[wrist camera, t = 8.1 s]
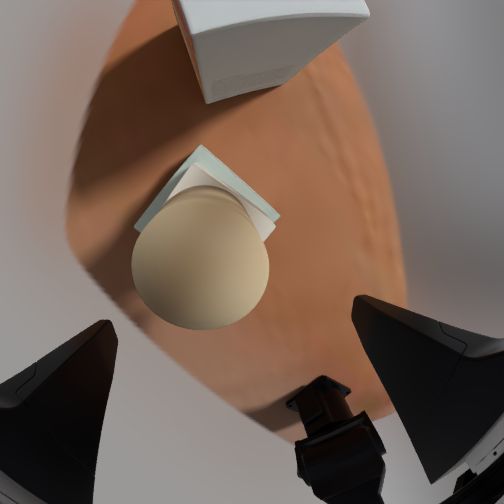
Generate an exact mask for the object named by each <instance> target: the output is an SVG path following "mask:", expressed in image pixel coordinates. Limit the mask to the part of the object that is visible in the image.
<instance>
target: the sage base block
mask: <svg viewBox="0 0 504 504" xmlns="http://www.w3.org/2000/svg"><path fill="white" fill-rule="evenodd" d="M196 162H197V163H199V164H200V165H201V166H203V167H204V168H206V169H207V170H208V171H210V172H211V173H213V174H214V175H215V176H217V177H218V178H219V179H221V180H222V181H224V182H225V183H226V184H228V185H229V186H230V187H232V188H233V189H234V190H236V191H237V192H239V193H240V194H241V195H243V196H244V197H245V198H247V199H248V200H249V201H251V202H252V203H253V204H255V205H256V206H257V207H259V208H260V209H261V210H263V211H264V212H265V213H266V214H267V216H268V217H269V218H270V219H271V221H272V222H273V223H274V222H275V221H276V220H277V219H278V218H279V217H280V215H279V214H278V213H277V212H276V211H275V210H274V209H273V208H272V207H271V206H270V205H269V204H268V203H267V202H266V201H265V200H264V199H263V198H261V197H260V196H259V195H258V194H257V193H256V192H255V191H254V190H253V189H252V188H250V187H249V186H248V185H247V184H246V183H245V182H244V181H243V180H242V179H240V178H239V177H238V176H237V175H236V174H235V173H234V172H233V171H231V170H230V169H229V168H228V167H227V166H226V165H225V164H224V163H222V162H221V161H220V160H219V159H218V158H217V157H215V156H214V155H213V154H212V153H211V152H210V151H209V150H207V149H206V148H205V147H204V146H203V145H201V144H200V146H199V147H198V148H197V149H196V150H195V151H194V152H193V153H192V154H191V156H190V157H189V158H188V159H187V160H186V161H185V163H184V164H183V165H182V166H181V167H180V168H179V170H178V171H177V172H176V173H175V174H174V175H173V177H172V178H171V179H170V180H169V182H168V183H167V184H166V185H165V186H164V188H163V189H162V190H161V191H160V193H159V194H158V195H157V197H156V198H155V199H154V200H153V202H152V203H151V204H150V206H149V207H148V208H147V210H146V211H145V212H144V214H143V215H142V216H141V218H140V219H139V220H138V222H137V223H136V224H135V226H134V228H135V229H136V230H138V231H139V232H140V233H141V232H142V231H143V229H144V228H145V227H146V226H147V224H148V223H149V222H150V221H151V220H152V219H153V218H154V216H155V215H156V214H157V213H158V212H159V211H160V209H161V208H162V206H163V205H164V203H165V202H166V200H167V199H168V197H169V196H170V194H171V193H172V191H173V190H174V188H175V187H176V186H177V184H178V183H179V181H180V180H181V178H182V177H183V176H184V174H185V173H186V172H187V170H188V169H189V167H190V166H191V165H192V164H194V163H196Z"/></svg>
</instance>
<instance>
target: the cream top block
mask: <svg viewBox="0 0 504 504" xmlns="http://www.w3.org/2000/svg"><path fill="white" fill-rule="evenodd" d="M198 185H210V186H215V187H219V188H222V189H224V190H226V191H228V192H230V193H231V194H233V195H234V196H235V197H236V198H237V199H238V200H239V201H240V202H241V203H242V204H243V206H244V208H245V209H246V211H247V213H248V215H249V216H250V218H251V220H252V222H253V224H254V226H255V228H256V230H257V231H258V233H259V235H260V237H261V239H262V241H263V242H264V241H265V240H266V238H267V237H268V236H269V235H270V233H271V232H272V231H273V230H274V229H275V227H276V226H275V224H274V223H273V222H272V221H271V219H270V218H269V217H268V216H267V214H266V213H265V212H264V211H263V210H261V209H260V208H259V207H257V206H256V205H255V204H253V203H252V202H251V201H249V200H248V199H247V198H245V197H244V196H243V195H241V194H240V193H239V192H237V191H236V190H234V189H233V188H232V187H230V186H229V185H228V184H226V183H225V182H224V181H222V180H221V179H219V178H218V177H217V176H215V175H214V174H213V173H211V172H210V171H208V170H207V169H206V168H204V167H203V166H201V165H200V164H199V163H197V162H196V163H194V164H192V165H191V166H190V167H189V169H188V170H187V172H186V173H185V174H184V176H183V177H182V178H181V180H180V181H179V183H178V184H177V186H176V187H175V188H174V190H173V191H172V193H171V194H170V196H169V197H168V199H167V200H166V202H165V203H164V205H165V204H166V203H167V202H168V201H169V200H170V199H171V198H172V197H173V196H174V195H176V194H177V193H179V192H180V191H182V190H184V189H186V188H189V187H193V186H198ZM164 205H163V206H164ZM163 206H162V207H163ZM161 209H162V208H161ZM161 209H160V210H161Z"/></svg>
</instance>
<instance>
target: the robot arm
mask: <svg viewBox="0 0 504 504" xmlns="http://www.w3.org/2000/svg"><path fill="white" fill-rule="evenodd" d="M351 318H352V322H353V324H354V326H355V329H356V331H357V333H358V336H359V338H360V341H361V343H362V346H363V348H364V350H365V352H366V354H367V356H368V358H369V360H370V361H371V363H372V365H373V367H374V369H375V371H376V373H377V374H378V376H379V378H380V380H381V382H382V384H383V386H384V388H385V390H386V391H387V393H388V395H389V397H390V399H391V401H392V403H393V405H394V407H395V409H396V411H397V413H398V415H399V417H400V419H401V421H402V423H403V425H404V427H405V429H406V431H407V433H408V435H409V437H410V439H411V442H412V444H413V446H414V449H415V451H416V453H417V455H418V457H419V459H420V462H421V464H422V466H423V468H424V471H425V473H426V475H427V477H428V479H429V482H430V483H431V484H433V483H435V482H436V481H438V480H439V479H441V478H443V477H444V476H446V475H447V474H449V473H450V472H451V471H453V470H455V469H456V468H457V467H459V466H460V465H462V464H463V463H464V462H466V463H467V464H468V466H469V467H470V469H468V470H467V471H466V472H465V473H463V474H462V475H461V476H460V477H458V478H457V482H456V485H455V488H454V492H453V495H451V496H450V497H449V498H447V499H446V500H444V501H443V502H441V503H440V504H504V338H502V339H497V338H491V337H488V336H485V335H481V334H477V333H474V332H470V331H467V330H464V329H460V328H457V327H454V326H451V325H448V324H445V323H442V322H440V321H439V322H438V321H437V320H434V319H431V318H429V317H426V316H423V315H420V314H417V313H415V312H412V311H409V310H406V309H404V308H401V307H398V306H395V305H393V304H390V303H387V302H384V301H382V300H379V299H376V298H373V297H371V296H368V295H358V296H356V297H355V298H354V301H353V307H352V314H351ZM117 346H118V338H117V335H116V333H115V330H114V327H113V324H112V322H111V321H110V320H99V321H98V322H96V323H94V324H93V325H91V326H90V327H88V328H87V329H85V330H84V331H82V332H80V333H79V334H77V335H76V336H74V337H73V338H71V339H70V340H68V341H67V342H65V343H64V344H62V345H61V346H59V347H58V348H56V349H55V350H53V351H52V352H50V353H48V354H47V355H45V356H44V357H42V358H41V359H40V360H38V361H37V362H35V363H33V364H32V365H31V366H29V367H28V368H26V369H24V370H23V371H21V372H20V373H18V374H16V375H15V376H13V377H12V378H10V379H8V380H6V381H5V382H3V383H1V384H0V504H93V492H94V481H95V476H94V475H95V471H96V463H97V456H98V449H99V443H100V437H101V431H102V425H103V420H104V415H105V410H106V405H107V401H108V397H109V392H110V388H111V384H112V379H113V374H114V367H115V360H116V353H117ZM350 393H351V390H350V388H348V387H346V386H344V385H342V384H340V383H338V382H337V381H335V380H333V379H331V378H329V377H327V376H321V377H320V378H319V379H318V380H316V381H315V382H314V383H312V384H311V385H310V386H309V387H307V388H306V389H305V390H303V391H302V392H301V393H299V394H298V395H297V396H295V397H294V398H293V399H291V400H290V401H288V402H287V403H286V407H287V408H289V409H291V410H294V411H297V412H299V415H300V418H301V421H302V423H303V425H304V428H305V431H306V434H307V437H308V438H305V439H303V440H298V441H296V442H295V453H296V460H297V475H298V477H299V478H301V479H303V480H304V481H305V483H306V484H307V485H308V486H311V487H312V490H313V493H314V495H315V496H316V497H318V498H319V499H320V500H323V501H324V502H326V503H327V504H384V502H383V499H382V497H381V491H382V487H383V482H384V477H385V472H386V469H385V463H384V460H383V458H382V456H381V455H384V454H385V453H386V450H385V448H384V445H383V442H382V440H381V438H380V436H379V434H378V432H377V431H376V429H375V427H374V425H373V424H372V422H371V420H370V419H369V417H368V415H367V414H366V412H365V410H364V411H362V412H361V413H360V414H358V415H356V416H353V414H352V412H351V410H350V408H349V406H348V404H347V402H346V400H345V397H346V396H347V395H349V394H350Z"/></svg>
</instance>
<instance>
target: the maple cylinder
mask: <svg viewBox="0 0 504 504" xmlns="http://www.w3.org/2000/svg"><path fill="white" fill-rule="evenodd" d="M131 267H132V276H133V281H134V284H135V287H136V289H137V291H138V293H139V295H140V297H141V298H142V300H143V301H144V303H145V304H146V305H147V306H148V307H149V308H150V309H151V310H152V311H153V312H154V313H155V314H156V315H158V316H159V317H160V318H162V319H163V320H165V321H167V322H169V323H171V324H174V325H176V326H179V327H182V328H186V329H192V330H211V329H217V328H221V327H225V326H227V325H230V324H232V323H234V322H236V321H238V320H240V319H241V318H243V317H244V316H245V315H247V314H248V313H249V312H250V311H251V310H252V309H253V308H254V307H255V306H256V304H257V303H258V302H259V300H260V299H261V297H262V295H263V293H264V291H265V288H266V285H267V282H268V276H269V260H268V255H267V251H266V248H265V245H264V243H263V241H262V239H261V237H260V235H259V233H258V231H257V230H256V228H255V226H254V224H253V222H252V220H251V218H250V216H249V215H248V213H247V211H246V209H245V208H244V206H243V204H242V203H241V202H240V201H239V200H238V199H237V198H236V197H235V196H234V195H233V194H231V193H230V192H228V191H226V190H224V189H222V188H219V187H215V186H210V185H198V186H193V187H189V188H186V189H184V190H182V191H180V192H179V193H177V194H176V195H174V196H173V197H172V198H171V199H170V200H169V201H168V202H167V203H166V204H165V205H164V206H163V207H162V209H161V210H160V211H159V212H158V213H157V214H156V215H155V216H154V218H153V219H152V220H151V221H150V222H149V223H148V224H147V226H146V227H145V228H144V229H143V231H142V232H141V234H140V235H139V237H138V239H137V241H136V244H135V246H134V250H133V254H132V263H131Z"/></svg>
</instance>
